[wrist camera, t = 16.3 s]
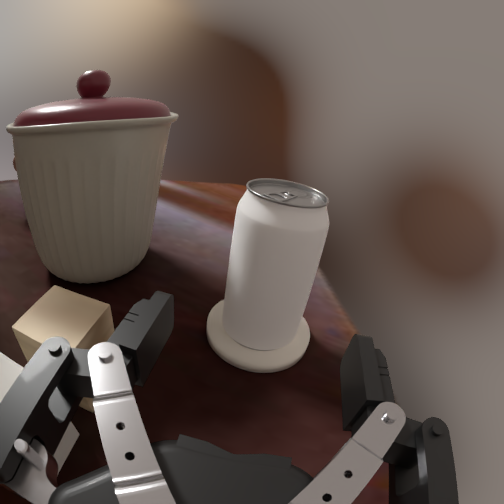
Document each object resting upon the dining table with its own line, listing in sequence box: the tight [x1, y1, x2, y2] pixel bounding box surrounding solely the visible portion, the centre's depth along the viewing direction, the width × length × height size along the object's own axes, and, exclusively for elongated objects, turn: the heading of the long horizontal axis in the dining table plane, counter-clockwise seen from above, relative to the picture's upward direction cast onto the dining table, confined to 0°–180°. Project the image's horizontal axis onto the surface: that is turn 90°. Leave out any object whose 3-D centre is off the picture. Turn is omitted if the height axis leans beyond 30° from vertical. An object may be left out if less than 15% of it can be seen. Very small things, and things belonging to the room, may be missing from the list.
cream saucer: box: [206, 300, 310, 373], centre depth 26 cm, size 9×9×1 cm
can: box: [222, 178, 329, 351], centre depth 23 cm, size 6×6×12 cm
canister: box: [6, 70, 178, 284], centre depth 27 cm, size 18×18×21 cm
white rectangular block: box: [0, 352, 80, 475], centre depth 11 cm, size 5×5×6 cm
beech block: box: [12, 285, 115, 413], centre depth 17 cm, size 5×5×6 cm
